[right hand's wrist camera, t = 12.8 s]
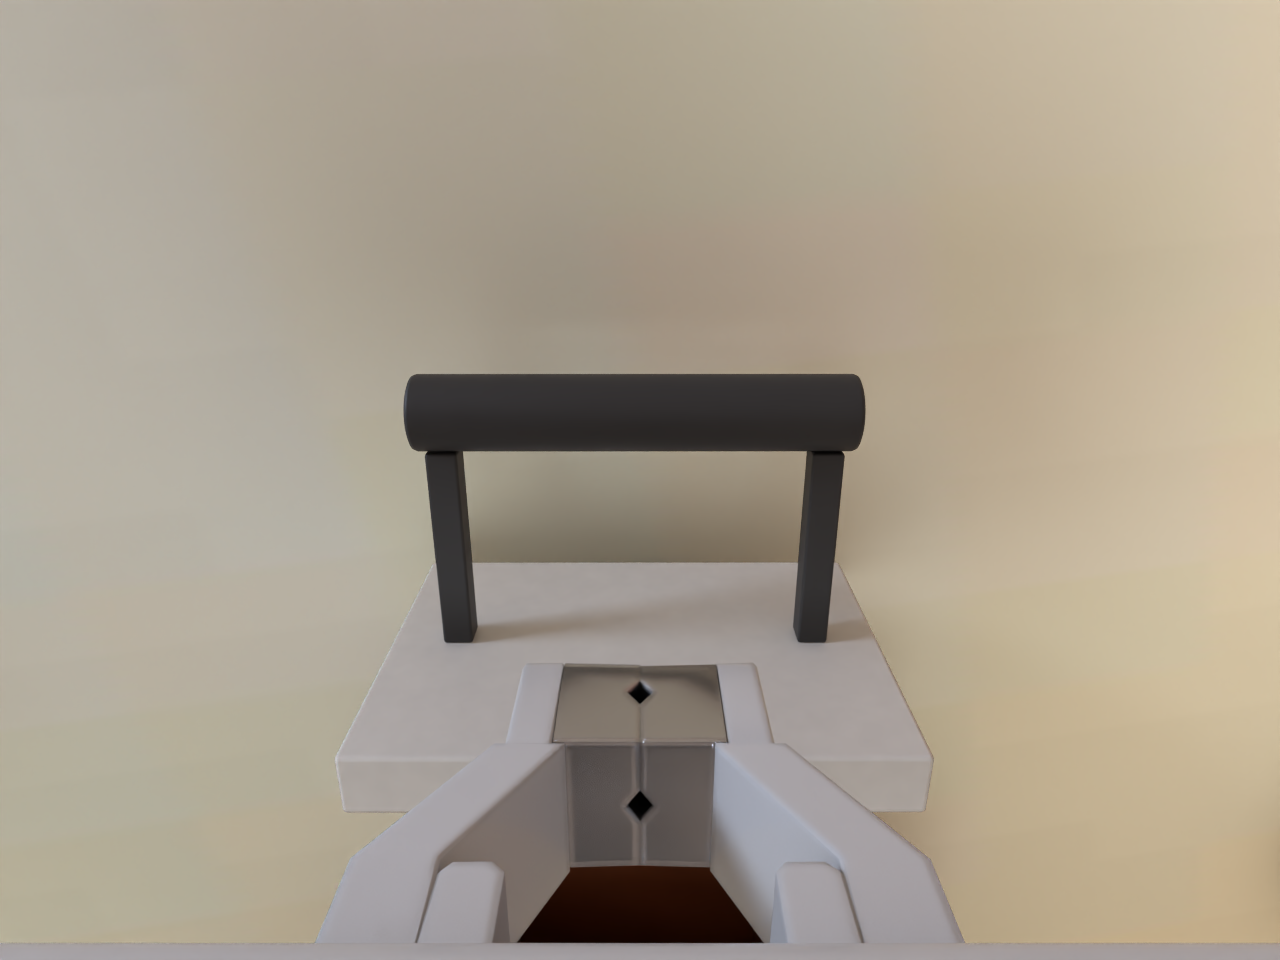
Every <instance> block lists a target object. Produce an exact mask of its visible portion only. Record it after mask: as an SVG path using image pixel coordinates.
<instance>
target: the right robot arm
mask: <svg viewBox="0 0 1280 960" xmlns="http://www.w3.org/2000/svg"><path fill="white" fill-rule="evenodd" d="M633 865H645V866H681V867H710V871H711V873H712V874H713V875H714V877H715V878H716V879H717V881H718V882H719V883H720V885H721V886H722V887H723V889H724V890H725V891H726V893H727V894H728V895H729V897H730V898H731V899H732V901H733V902H734V904H735V905H736V906H737V908H738V909H739V910H740V912H741V913H742V914H743V916H744V917H745V918H746V920H747V921H748V922H749V924H750V925H751V926H752V928H753V929H754V930H755V932H756V933H757V934H758V936H759V937H760V939H761V940H762V941H763V943H517V942H518V940H519V939H520V938H521V936H522V935H523V934H524V932H525V931H526V930H527V928H528V927H529V926H530V924H531V923H532V922H533V920H534V919H535V918H536V916H537V915H538V914H539V912H540V911H541V910H542V908H543V907H544V906H545V904H546V903H547V902H548V900H549V899H550V898H551V896H552V895H553V893H554V892H555V891H556V889H557V888H558V887H559V885H560V884H561V883H562V881H563V880H564V879H565V877H566V876H567V875H568V873H569V872H570V867H598V866H633ZM0 960H1280V943H965V942H964V939H963V937H962V934H961V932H960V930H959V927H958V925H957V922H956V920H955V917H954V915H953V913H952V910H951V908H950V905H949V903H948V900H947V898H946V896H945V893H944V891H943V888H942V886H941V883H940V881H939V879H938V876H937V874H936V871H935V869H934V866H933V864H932V862H931V859H929V858H928V857H927V856H926V855H924V854H923V853H922V852H921V851H919V850H918V849H917V848H916V847H914V846H913V845H912V844H911V843H909V842H908V841H907V840H906V839H904V838H903V837H902V836H901V835H899V834H898V833H897V832H896V831H894V830H893V829H892V828H891V827H889V826H888V825H887V824H886V823H885V822H883V821H882V820H881V819H880V818H878V817H877V816H876V815H875V814H873V813H872V812H871V811H870V810H868V809H867V808H866V807H865V806H863V805H862V804H861V803H860V802H858V801H857V800H856V799H855V798H853V797H852V796H851V795H850V794H848V793H847V792H846V791H845V790H843V789H842V788H841V787H840V786H838V785H837V784H836V783H835V782H833V781H832V780H831V779H830V778H828V777H827V776H826V775H825V774H823V773H822V772H821V771H820V770H818V769H817V768H816V767H815V766H813V765H812V764H811V763H810V762H808V761H807V760H806V759H805V758H803V757H802V756H801V755H800V754H798V753H797V752H796V751H795V750H793V749H792V748H791V747H790V746H788V745H787V744H786V743H774V739H773V734H772V730H771V726H770V721H769V717H768V713H767V709H766V704H765V700H764V696H763V692H762V687H761V683H760V679H759V674H758V670H757V666H756V665H755V664H754V663H725V664H715V665H659V666H640V665H627V664H579V663H565V665H564V664H563V663H527V664H526V665H525V666H524V668H523V669H522V673H521V678H520V682H519V686H518V691H517V695H516V699H515V704H514V708H513V712H512V717H511V721H510V725H509V730H508V734H507V738H506V743H494V744H493V745H492V746H490V747H489V748H488V749H487V750H485V751H484V752H483V753H482V754H480V755H479V756H478V757H477V758H475V759H474V760H473V761H471V762H470V763H469V764H468V765H466V766H465V767H464V768H463V769H461V770H460V771H459V772H458V773H456V774H455V775H454V776H453V777H451V778H450V779H449V780H448V781H446V782H445V783H444V784H443V785H441V786H440V787H439V788H438V789H436V790H435V791H434V792H433V793H431V794H430V795H429V796H428V797H426V798H425V799H424V800H423V801H421V802H420V803H419V804H418V805H416V806H415V807H414V808H413V809H411V810H410V811H409V812H408V813H406V814H405V815H404V816H403V817H401V818H400V819H399V820H398V821H396V822H395V823H394V824H393V825H391V826H390V827H389V828H388V829H386V830H385V831H384V832H383V833H381V834H380V835H379V836H378V837H376V838H375V839H374V840H373V841H371V842H370V843H369V844H367V845H366V846H365V847H364V848H362V849H361V850H360V851H359V852H357V853H356V854H355V855H354V856H352V857H351V858H350V860H349V863H348V865H347V867H346V870H345V872H344V875H343V877H342V879H341V882H340V884H339V886H338V889H337V891H336V894H335V896H334V898H333V901H332V903H331V906H330V908H329V910H328V913H327V915H326V918H325V920H324V922H323V925H322V927H321V929H320V932H319V934H318V937H317V939H316V941H315V943H0Z"/></svg>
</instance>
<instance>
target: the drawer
mask: <svg viewBox="0 0 1280 960" xmlns="http://www.w3.org/2000/svg"><path fill="white" fill-rule="evenodd" d="M404 424H405V431H406V435H407V438H408V441H409V444H410V446H411V447H412V449H414V450H416V451H428V452H427V453H426V455H425V462H426V471H427V481H428V490H429V500H430V510H431V519H432V529H433V539H434V548H435V558H436V563H434V564H433V565H432V567H431V569H430V571H429V573H428V574H427V576H426V578H425V580H424V582H423V584H422V586H421V588H420V590H419V592H418V594H417V596H416V598H415V600H414V602H413V604H412V606H411V608H410V610H409V612H408V614H407V616H406V618H405V620H404V622H403V624H402V626H401V628H400V630H399V632H398V634H397V636H396V638H395V640H394V642H393V644H392V646H391V648H390V650H389V652H388V654H387V656H386V658H385V660H384V662H383V664H382V666H381V668H380V670H379V671H378V673H377V675H376V677H375V679H374V681H373V683H372V685H371V687H370V689H369V691H368V693H367V695H366V697H365V699H364V701H363V703H362V705H361V707H360V709H359V711H358V713H357V715H356V717H355V719H354V721H353V723H352V725H351V727H350V729H349V731H348V733H347V735H346V737H345V739H344V741H343V743H342V745H341V747H340V749H339V751H338V753H337V755H336V757H335V764H336V770H337V776H338V781H339V787H340V793H341V799H342V805H343V810H344V811H345V812H409V811H410V810H411V809H413V808H414V807H415V806H416V805H418V804H419V803H420V802H421V801H423V800H424V799H425V798H426V797H428V796H429V795H430V794H431V793H433V792H434V791H435V790H436V789H438V788H439V787H440V786H441V785H443V784H444V783H445V782H446V781H448V780H449V779H450V778H451V777H453V776H454V775H455V774H456V773H458V772H459V771H460V770H461V769H463V768H464V767H465V766H466V765H468V764H469V763H470V762H471V761H473V760H474V759H475V758H477V757H478V756H479V755H480V754H482V753H483V752H484V751H485V750H487V749H488V748H489V747H490V746H492V745H493V744H494V743H506V738H507V734H508V730H509V725H510V721H511V717H512V712H513V708H514V704H515V699H516V695H517V691H518V686H519V682H520V678H521V673H522V669H523V668H524V666H525V665H526V664H527V663H563V664H564V665H565V663H579V664H627V665H640V666H659V665H715V664H725V663H754V664H755V665H756V666H757V670H758V674H759V679H760V683H761V687H762V692H763V696H764V700H765V704H766V709H767V713H768V717H769V721H770V726H771V730H772V734H773V739H774V743H786V744H787V745H788V746H790V747H791V748H792V749H793V750H795V751H796V752H797V753H798V754H800V755H801V756H802V757H803V758H805V759H806V760H807V761H808V762H810V763H811V764H812V765H813V766H815V767H816V768H817V769H818V770H820V771H821V772H822V773H823V774H825V775H826V776H827V777H828V778H830V779H831V780H832V781H833V782H835V783H836V784H837V785H838V786H840V787H841V788H842V789H843V790H845V791H846V792H847V793H848V794H850V795H851V796H852V797H853V798H855V799H856V800H857V801H858V802H860V803H861V804H862V805H863V806H865V807H866V808H867V809H868V810H870V811H871V812H923V811H925V809H926V803H927V797H928V791H929V785H930V779H931V773H932V767H933V761H934V758H933V755H932V753H931V751H930V749H929V747H928V745H927V743H926V741H925V739H924V737H923V735H922V733H921V730H920V728H919V726H918V724H917V722H916V720H915V718H914V716H913V714H912V712H911V710H910V708H909V706H908V704H907V702H906V700H905V698H904V696H903V694H902V692H901V690H900V688H899V685H898V683H897V681H896V679H895V677H894V675H893V673H892V671H891V669H890V667H889V665H888V663H887V661H886V659H885V657H884V655H883V653H882V651H881V649H880V647H879V645H878V643H877V640H876V638H875V636H874V634H873V632H872V630H871V628H870V626H869V624H868V622H867V620H866V618H865V616H864V614H863V612H862V610H861V608H860V606H859V604H858V602H857V600H856V598H855V596H854V593H853V591H852V589H851V587H850V585H849V583H848V581H847V579H846V577H845V575H844V573H843V571H842V569H841V567H840V565H839V563H836V562H834V559H835V548H836V538H837V528H838V518H839V508H840V498H841V488H842V477H843V467H844V457H845V456H844V454H843V452H842V451H853V450H855V449H857V448H858V446H859V444H860V442H861V439H862V436H863V431H864V425H865V396H864V390H863V386H862V383H861V380H860V378H859V377H858V376H856V375H854V374H416V375H413V376H411V377H410V379H409V381H408V383H407V387H406V390H405V396H404ZM463 451H807V458H806V470H805V483H804V495H803V508H802V520H801V533H800V545H799V558H798V562H706V563H472V554H471V542H470V530H469V519H468V507H467V495H466V483H465V472H464V460H463ZM517 943H763V941H762V940H761V939H760V937H759V936H758V934H757V933H756V932H755V930H754V929H753V928H752V926H751V925H750V924H749V922H748V921H747V920H746V918H745V917H744V916H743V914H742V913H741V912H740V910H739V909H738V908H737V906H736V905H735V904H734V902H733V901H732V899H731V898H730V897H729V895H728V894H727V893H726V891H725V890H724V889H723V887H722V886H721V885H720V883H719V882H718V881H717V879H716V878H715V877H714V875H713V874H712V873H711V871H710V867H681V866H645V865H633V866H598V867H570V872H569V873H568V875H567V876H566V877H565V879H564V880H563V881H562V883H561V884H560V885H559V887H558V888H557V889H556V891H555V892H554V893H553V895H552V896H551V898H550V899H549V900H548V902H547V903H546V904H545V906H544V907H543V908H542V910H541V911H540V912H539V914H538V915H537V916H536V918H535V919H534V920H533V922H532V923H531V924H530V926H529V927H528V928H527V930H526V931H525V932H524V934H523V935H522V936H521V938H520V939H519V940H518V942H517Z"/></svg>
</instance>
